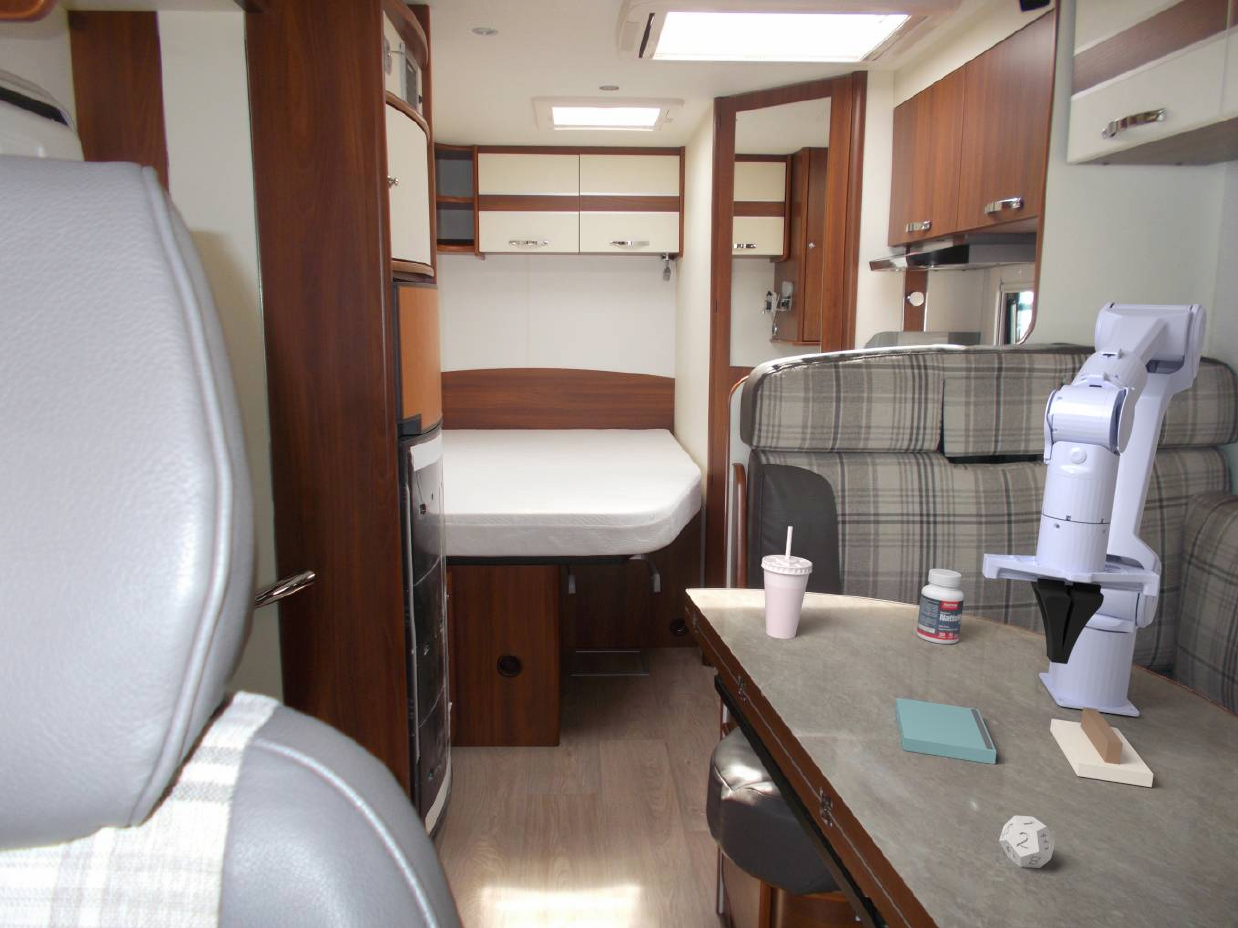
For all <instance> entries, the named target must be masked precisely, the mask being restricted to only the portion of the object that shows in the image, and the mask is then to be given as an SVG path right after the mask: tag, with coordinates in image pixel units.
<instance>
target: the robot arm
mask: <svg viewBox="0 0 1238 928" xmlns="http://www.w3.org/2000/svg"><path fill="white" fill-rule="evenodd" d="M1207 317H1208V314H1207V310H1206V308H1205V307H1204V306H1203V305H1202V304H1201V303H1193V304H1165V303H1164V304H1157V303H1156V304H1155V303H1154V304H1153V303H1152V304H1151V303H1150V304H1149V303H1148V304H1147V303H1116V302H1114V301H1109V302H1106V303H1105V305H1104V306H1102V307H1101V308H1100V310H1099V312H1098V315H1097V318H1096V323H1095V329H1094V343H1093V344H1094V351H1095V352H1094V353H1092V354H1091V355H1090V356H1088V358H1087V359H1086V360H1085V362H1084V363H1083V365H1082V366H1081V368H1080V369H1079V371H1078V373H1077V374H1076V375H1075V377H1074V379H1073V380H1072V382H1071V383H1070V384H1064V385H1063V386H1062V387H1061V388H1060V390H1058V389H1054V390H1052V392H1051V393H1050V395H1049V397H1048V399H1047V403H1046V408H1045V413H1044V423H1043V435H1044V450H1043V451H1044V452H1043V464H1045V465H1047V469H1046V476H1045V482H1044V483H1045V484H1044V489H1043V490H1044V491H1043V498H1042V499H1043V500H1042V506H1041V507H1042V508H1041V516H1040V523H1039V532H1038V539H1037V547H1036V553H1035V554H1036V555H1022V554H1021V555H1020V554H995V553H994V554H993V553H984V554H983V555H984V556H983V562H982V570H981V571H982V572H981V573H982V574H983V576H984V577H985V579H993V580H997V579H998V578H999V579H1000V578H1001V579H1012V580H1016V581H1017V580H1019V581H1028V582H1030V584H1031V588H1032V591H1033V593H1034V595H1035V599H1036V601H1037V605H1038V608H1039V611H1040V612H1039V613H1040V615H1041V619H1042V624H1043V628H1044V629H1043V630H1044V635H1045V643H1046V644H1045V645H1046V648H1045V649H1046V657H1047V659H1049V667H1048V672H1039V674H1038V677H1039V679H1040V680H1041V681H1042V683H1043V685H1044V686H1045V688H1047V690H1048V692H1049V693H1050V695H1051V696H1052V699H1053V700H1054V701H1055V702H1056V703H1055V704H1057V705H1058V706H1060V707H1063V708H1070V709H1071V708H1072V709H1078V710H1083V707H1086V708H1094V709H1097V710H1098V712H1099V713H1108V714H1114V715H1122V716H1129V717H1130V716H1131V717H1139V716H1140V714H1141V713H1140V711H1139V710H1138V709H1137V708H1136V707H1135V705H1134V704H1133V702H1131V701H1130V700H1129V699H1128V691H1129V685H1130V677H1131V673H1132V672H1131V670H1132V666H1133V665H1132V664H1133V656H1134V651H1135V644H1136V636H1137V630H1138V629H1140V628H1142V629H1145V628H1146V627H1147V626H1149V625H1150V624H1152V622H1153V620H1154V619H1155V618H1154V617H1155V615H1156V611H1157V607H1158V602H1159V595H1160V589H1161V575H1162V561H1160V556H1159V555H1158V554H1157V553H1156V552H1155V551H1154V550H1153V549H1152V548H1151V547H1150V546H1149V545H1148V544H1147V543H1145V541H1143V540H1142V539H1141V538H1140V537H1139V534H1140V529H1141V525H1142V519H1143V516H1144V515H1143V514H1144V511H1145V510H1144V509H1145V505H1146V500H1147V497H1148V491H1149V487H1150V482H1151V477H1152V473H1153V467H1154V463H1155V459H1156V458H1155V457H1156V453H1157V448H1158V445H1159V439H1160V435H1161V430H1162V427H1163V426H1162V424H1163V420H1164V417H1165V413H1166V411H1167V409H1168V407H1169V405H1170V403H1171V400H1172V399H1173V397H1174V395H1175V394H1177V393H1180V392H1183V391H1185V390H1187V389H1189V388H1193V387H1192V386H1193V383H1194V379H1195V378H1196V377H1197V374H1198V370H1199V366H1200V361H1201V356H1202V351H1203V347H1204V343H1205V337H1206V330H1207V322H1208V321H1207V320H1208V319H1207Z"/></svg>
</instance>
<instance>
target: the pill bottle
mask: <svg viewBox="0 0 1238 928" xmlns="http://www.w3.org/2000/svg"><path fill="white" fill-rule="evenodd" d="M927 580H928V582H929V584H927V585H925V586H923V588H922V589H921V593H920V601H919V607H918V608H919V609H918V618H917V627H916V635H917V636H918V637H919V638H920V639H922V640H924V641H927V642H929V643H935V644H942V645H953V644H956V643H958V642H959V640H960V634H961V626H962V617H963V616H962V615H963V610H964V609H963V608H964V601H965V596H964V595H965V594H964V592H962V590H960V589H959V587H960V586H961V584H962V574H961V573H960V572H958V571H955V570H951V569H947V568H931V569H929V571H928V579H927Z"/></svg>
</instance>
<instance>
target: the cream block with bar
mask: <svg viewBox="0 0 1238 928" xmlns="http://www.w3.org/2000/svg"><path fill="white" fill-rule="evenodd" d="M1119 729H1120V728H1118V727H1113V726H1110V724H1109V723H1108V722H1107V720H1105V718H1104V717H1103V715H1102V714H1101V712H1099V711H1098V710H1097V709H1094V708H1086V707H1083V709H1082V712H1081V720H1080V722H1077V721H1070V720H1064V719H1056V718H1051V721H1050V728H1049V731H1050V733H1051V734H1052V736H1053V738H1054V739H1055V741H1056V742H1057V744H1058V746H1059V747H1060V749H1061V751H1062V753H1063V755H1064V756H1065V757H1066V759H1067V761H1068V763H1069V764H1070V766H1071V767H1072V769H1073V771H1074V773H1075V774H1076V776H1078V777H1082V778H1088V779H1089V778H1090V779H1094V780H1096V779H1097V780H1102V781H1109V782H1114V783H1120V784H1121V783H1122V784H1129V785H1134V786H1135V785H1136V786H1141V787H1148V788H1152V786H1153V782H1154V781H1153V779H1154V773H1153V772H1152V770H1151V769H1150V768H1149V767H1148V765H1147V764H1146V763H1145V762H1144V759H1142V757H1140V755H1139V754H1138V752H1137V751H1136V750H1135V748H1134V747H1133V746H1132V745H1131V744H1130V742H1129V741H1128V740H1127V738H1126V737H1125V735H1123V734H1122V732H1121V731H1120V730H1119Z"/></svg>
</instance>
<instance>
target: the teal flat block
mask: <svg viewBox="0 0 1238 928" xmlns="http://www.w3.org/2000/svg"><path fill="white" fill-rule="evenodd" d="M894 710H895V715H896V720H897V725H898V730H899V731H898V732H899V735H900V736H899V737H900V740H901V747H902V751H905V752H906V751H907V752H912V753H913V752H914V753H919V754H924V755H925V754H926V755H931V756H938V757H943V758H944V757H946V758H951V759H958V760H965V761H971V762H977V763H978V762H979V763H984V764H991V765H996V758H997V750H996V748H995V746H994V743H993V740H992V738H991V736H990V734H989V730H988V729H987V727H986V725H985V722H984V720H983V717H982V714H981V713H980V709H978V708H972V707H966V706H964V707H963V706H957V705H950V704H943V703H937V702H936V703H935V702H929V701H922V700H916V699H914V700H913V699H908V698H901V697H895V707H894Z"/></svg>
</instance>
